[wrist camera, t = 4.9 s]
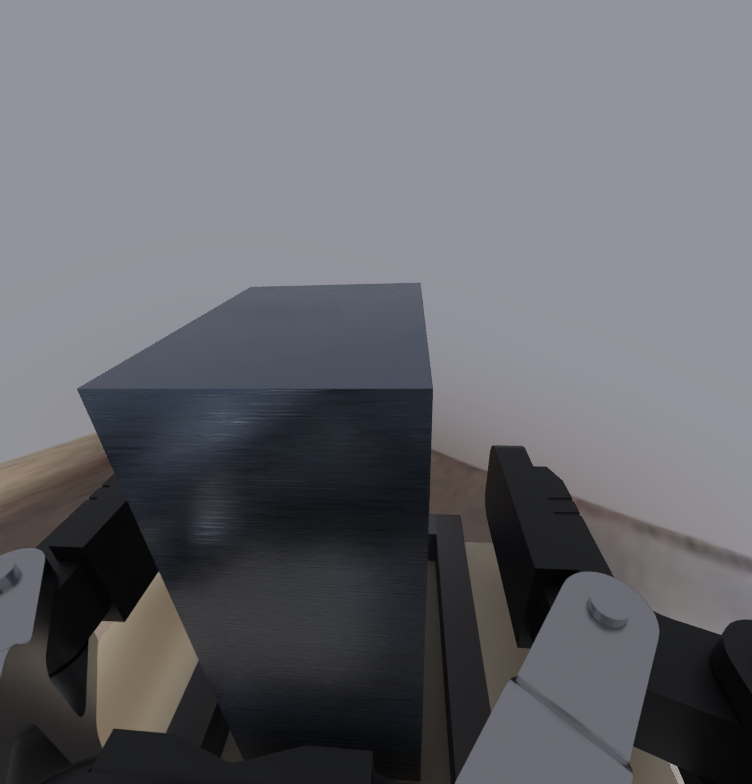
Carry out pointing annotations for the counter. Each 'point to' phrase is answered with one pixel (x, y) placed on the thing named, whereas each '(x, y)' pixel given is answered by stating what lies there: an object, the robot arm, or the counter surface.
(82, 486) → the counter surface
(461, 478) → the counter surface
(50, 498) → the counter surface
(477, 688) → the tan piece
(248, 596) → the brushed metal block
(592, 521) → the counter surface
